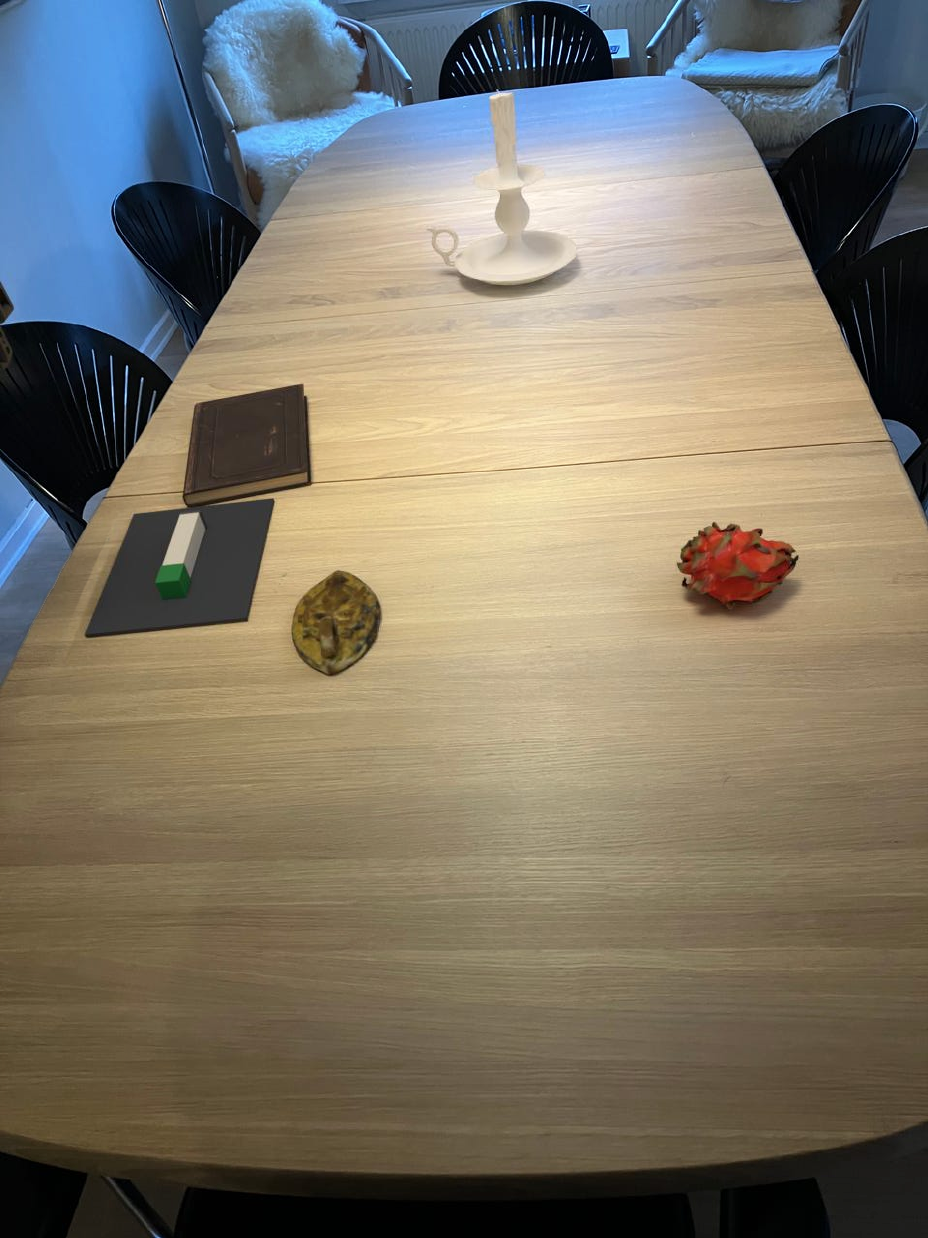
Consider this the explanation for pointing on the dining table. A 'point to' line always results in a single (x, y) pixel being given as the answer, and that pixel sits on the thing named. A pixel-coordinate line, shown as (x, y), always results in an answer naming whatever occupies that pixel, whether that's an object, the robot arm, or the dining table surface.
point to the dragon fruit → (735, 564)
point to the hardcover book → (248, 446)
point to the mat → (215, 578)
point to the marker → (181, 555)
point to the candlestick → (509, 217)
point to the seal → (335, 622)
